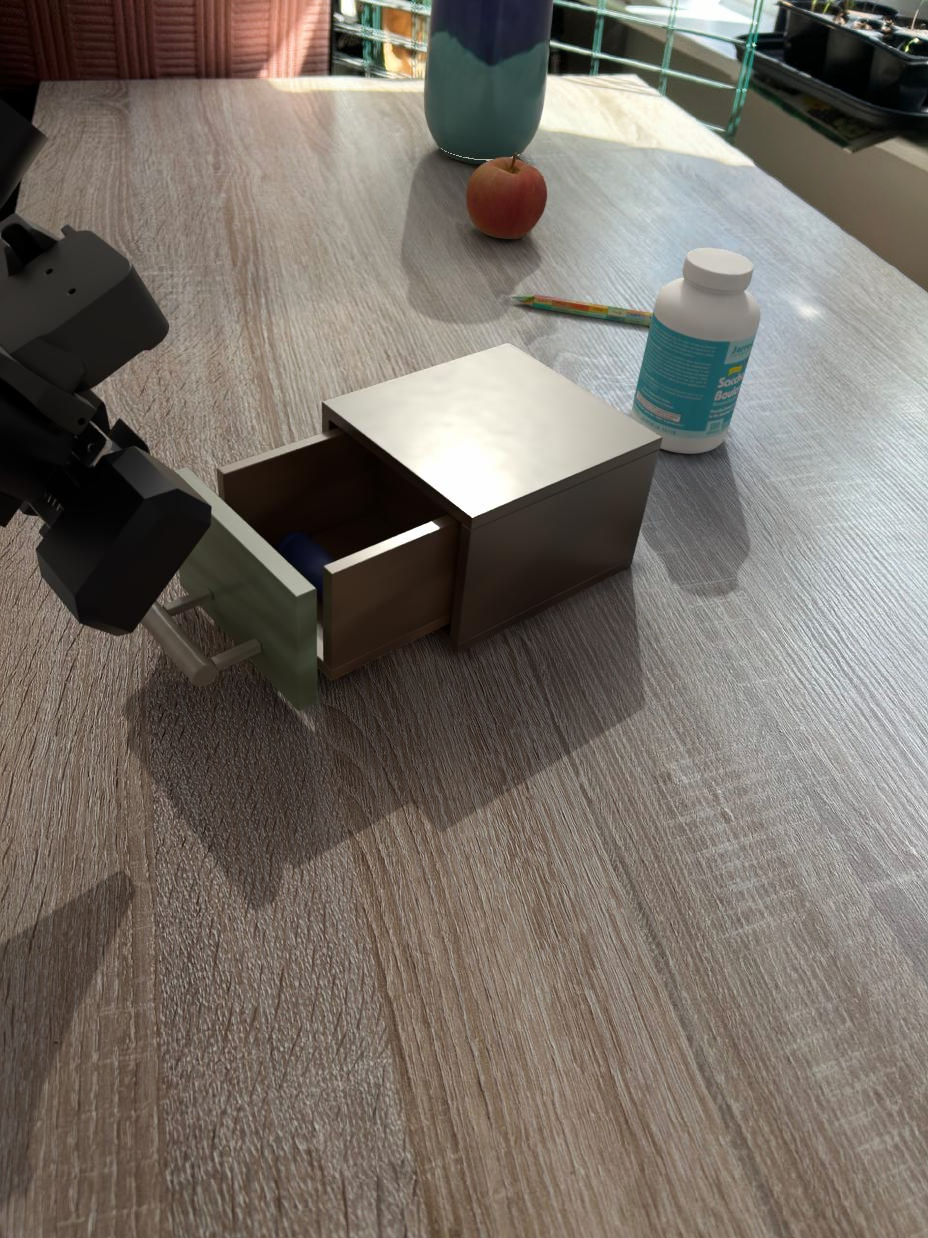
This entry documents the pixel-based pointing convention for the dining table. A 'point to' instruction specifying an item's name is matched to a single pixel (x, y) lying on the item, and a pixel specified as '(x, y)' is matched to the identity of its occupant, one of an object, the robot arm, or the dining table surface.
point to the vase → (486, 75)
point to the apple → (506, 197)
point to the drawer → (352, 585)
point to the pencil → (586, 309)
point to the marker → (305, 558)
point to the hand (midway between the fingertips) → (184, 522)
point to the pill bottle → (697, 351)
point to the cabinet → (511, 478)
